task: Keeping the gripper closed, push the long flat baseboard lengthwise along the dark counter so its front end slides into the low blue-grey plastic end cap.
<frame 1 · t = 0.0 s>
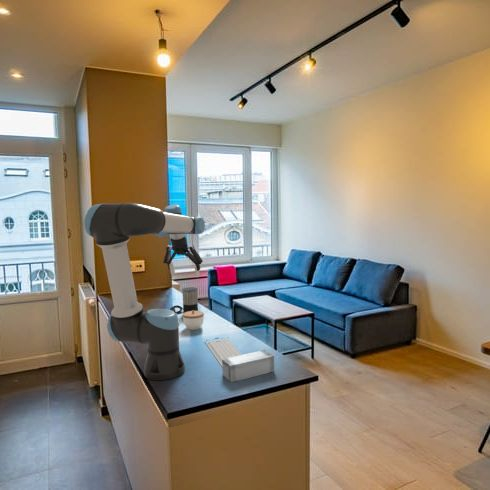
hand: (185, 275, 193), 28 cm above the countertop, tool tilted 20°, fingers open, 13 cm apart
baseboard: (225, 356, 162), on the countertop
milk frother: (184, 313, 227), on the countertop
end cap: (248, 373, 143), on the countertop
lidded jar: (193, 328, 198), on the countertop
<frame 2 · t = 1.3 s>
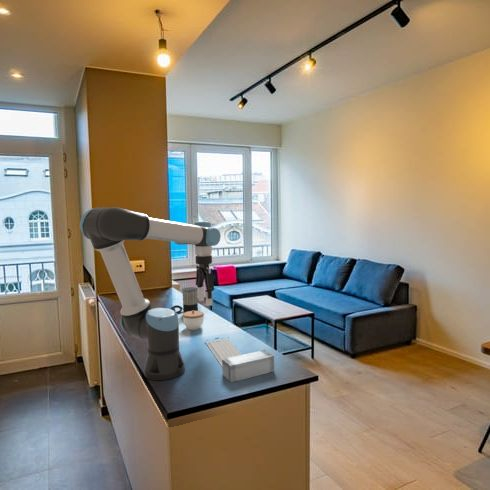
hand: (205, 303, 178), 18 cm above the countertop, tool pointing down, fingers open, 9 cm apart
nothing on the countertop moved.
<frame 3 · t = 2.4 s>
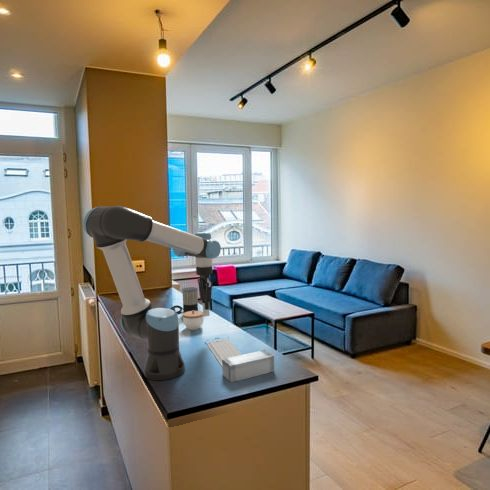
hand: (206, 315, 179), 11 cm above the countertop, tool pointing down, fingers closed
nothing on the countertop moved.
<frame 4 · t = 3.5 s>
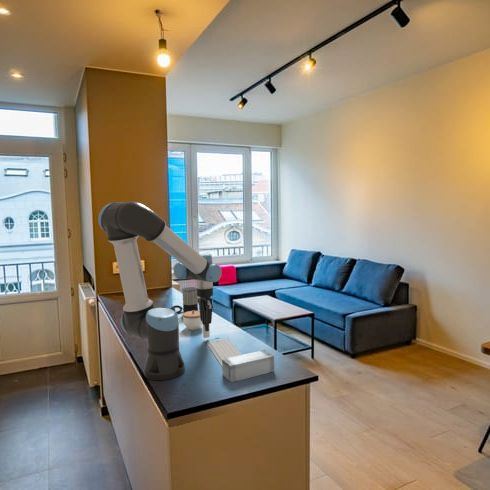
hand: (206, 337, 180), 1 cm above the countertop, tool pointing down, fingers closed
nothing on the countertop moved.
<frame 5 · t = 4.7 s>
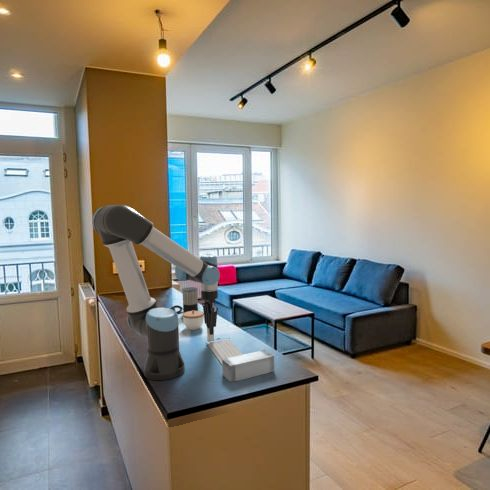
hand: (210, 340, 175), 1 cm above the countertop, tool pointing down, fingers closed
baseboard: (226, 357, 161), on the countertop
everything else where it was.
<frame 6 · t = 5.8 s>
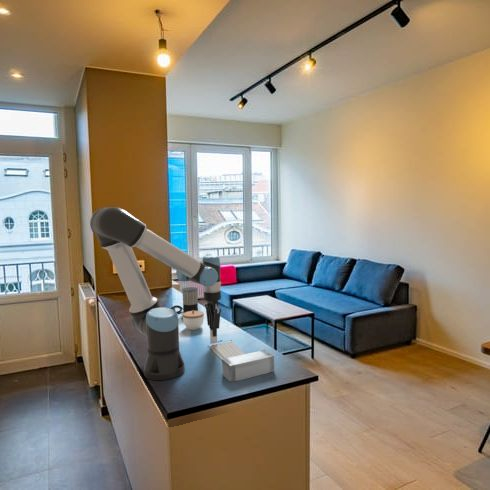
hand: (213, 342, 172), 1 cm above the countertop, tool pointing down, fingers closed
baseboard: (231, 359, 158), on the countertop
everything else where it was.
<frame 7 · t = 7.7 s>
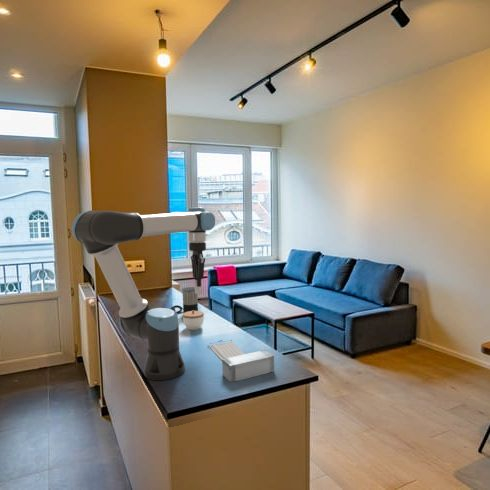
hand: (198, 293, 176), 23 cm above the countertop, tool pointing down, fingers closed
nothing on the countertop moved.
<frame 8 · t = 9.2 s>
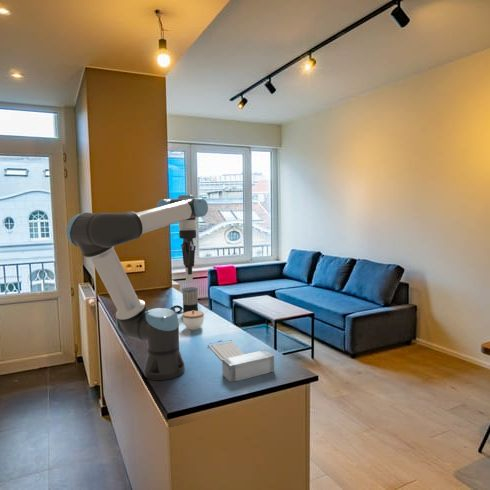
hand: (189, 281, 175), 28 cm above the countertop, tool pointing down, fingers closed
nothing on the countertop moved.
at the end: baseboard 1.4 cm from the target spot, on the countertop; baseboard tilted 0°; baseboard moved 4.6 cm from its start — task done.
